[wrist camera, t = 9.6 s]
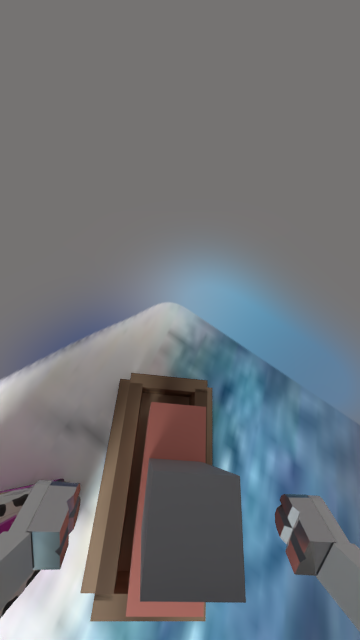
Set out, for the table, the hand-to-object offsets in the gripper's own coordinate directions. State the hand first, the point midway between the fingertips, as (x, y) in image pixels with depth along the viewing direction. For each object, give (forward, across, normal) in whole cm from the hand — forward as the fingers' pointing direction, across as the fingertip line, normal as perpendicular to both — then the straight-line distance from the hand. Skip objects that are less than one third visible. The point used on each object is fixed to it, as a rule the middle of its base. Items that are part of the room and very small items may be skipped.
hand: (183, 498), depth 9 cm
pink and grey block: (+10, 0, +10) cm, 14 cm away
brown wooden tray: (+10, 0, +11) cm, 15 cm away
